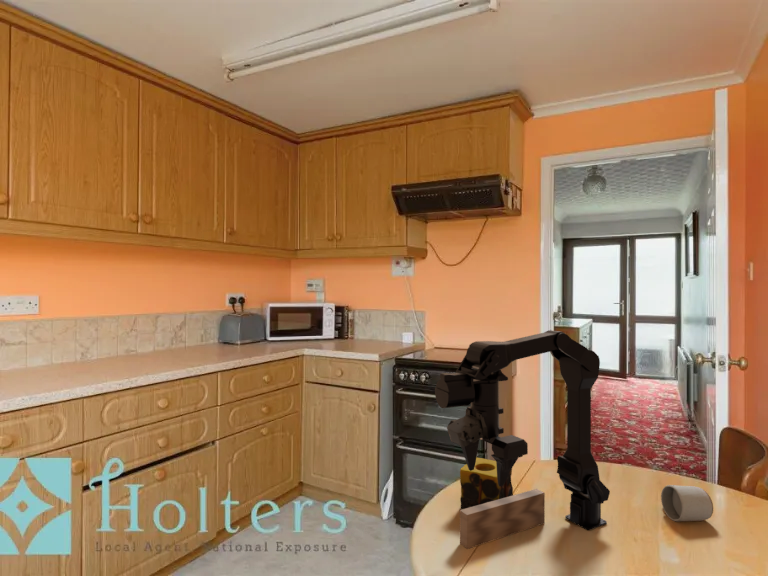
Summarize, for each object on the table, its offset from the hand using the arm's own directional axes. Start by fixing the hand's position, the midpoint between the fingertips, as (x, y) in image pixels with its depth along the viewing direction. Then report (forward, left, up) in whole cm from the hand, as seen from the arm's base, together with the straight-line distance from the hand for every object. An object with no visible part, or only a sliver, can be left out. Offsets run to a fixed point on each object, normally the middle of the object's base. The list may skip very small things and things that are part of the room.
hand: (485, 477), depth 99 cm
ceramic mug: (-49, +12, -15) cm, 52 cm away
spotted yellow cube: (-12, -13, -15) cm, 23 cm away
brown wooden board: (-7, -2, -14) cm, 16 cm away
